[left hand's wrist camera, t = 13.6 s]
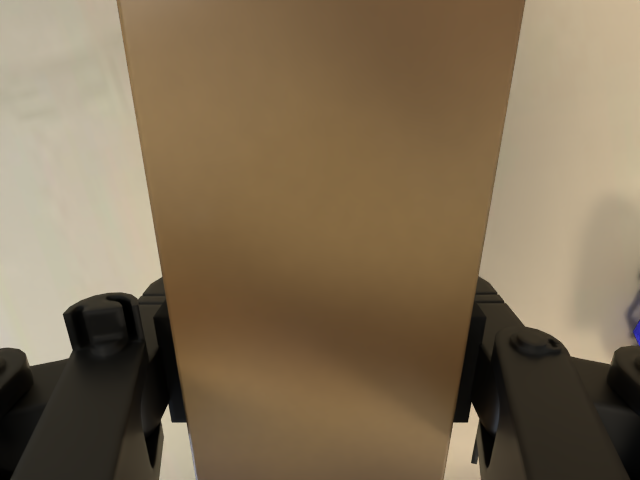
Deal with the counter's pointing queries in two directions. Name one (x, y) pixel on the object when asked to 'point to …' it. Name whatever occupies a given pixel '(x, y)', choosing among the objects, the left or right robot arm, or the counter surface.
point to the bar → (320, 220)
